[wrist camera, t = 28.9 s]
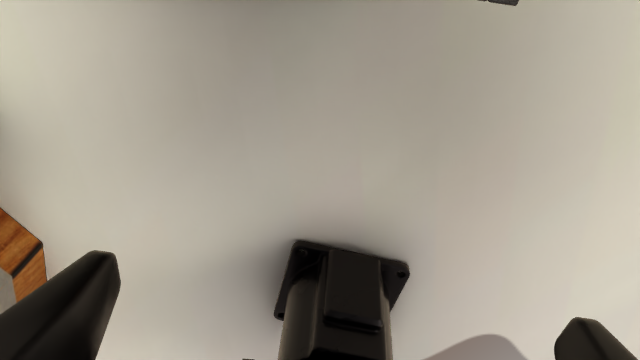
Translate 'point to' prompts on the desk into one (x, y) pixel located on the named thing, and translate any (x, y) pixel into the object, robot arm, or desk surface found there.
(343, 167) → the desk surface
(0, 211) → the mug
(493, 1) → the dark grey box
